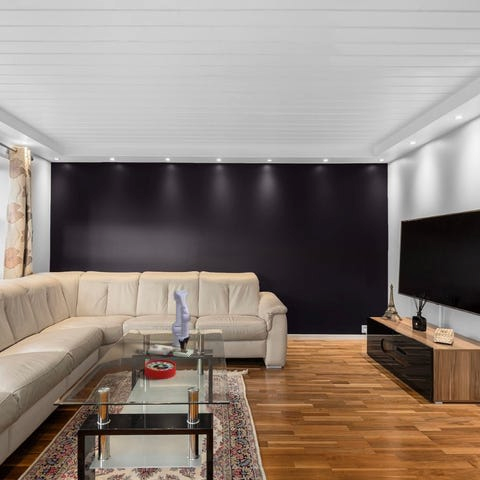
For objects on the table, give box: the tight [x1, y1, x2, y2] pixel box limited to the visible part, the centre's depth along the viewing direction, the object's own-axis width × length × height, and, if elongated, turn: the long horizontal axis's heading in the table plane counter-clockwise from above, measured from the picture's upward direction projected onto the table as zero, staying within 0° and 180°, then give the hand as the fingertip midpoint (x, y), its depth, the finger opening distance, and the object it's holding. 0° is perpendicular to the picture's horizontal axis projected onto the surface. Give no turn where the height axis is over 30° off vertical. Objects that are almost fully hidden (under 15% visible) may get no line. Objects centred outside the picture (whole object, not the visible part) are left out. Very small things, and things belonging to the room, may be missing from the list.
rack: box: [172, 347, 195, 358], centre depth 310 cm, size 12×12×2 cm
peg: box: [181, 343, 188, 353], centre depth 310 cm, size 4×4×8 cm
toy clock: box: [144, 359, 177, 380], centre depth 271 cm, size 20×6×20 cm
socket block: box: [147, 344, 174, 356], centre depth 314 cm, size 14×14×2 cm
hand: (183, 347), depth 310 cm, fingers open, 7 cm apart
